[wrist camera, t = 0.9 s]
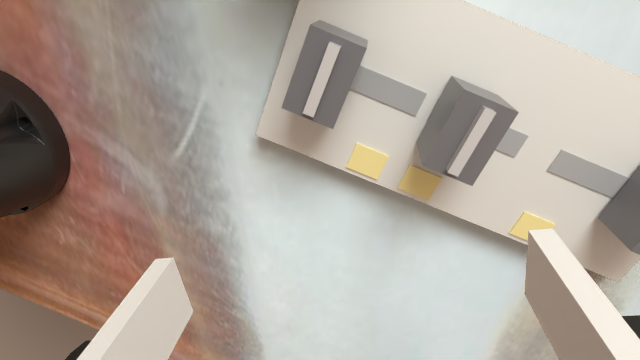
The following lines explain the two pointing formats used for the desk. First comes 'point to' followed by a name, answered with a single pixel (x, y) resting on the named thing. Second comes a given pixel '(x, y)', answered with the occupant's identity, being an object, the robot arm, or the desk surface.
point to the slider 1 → (324, 73)
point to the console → (492, 75)
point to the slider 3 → (625, 214)
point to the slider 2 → (464, 130)
